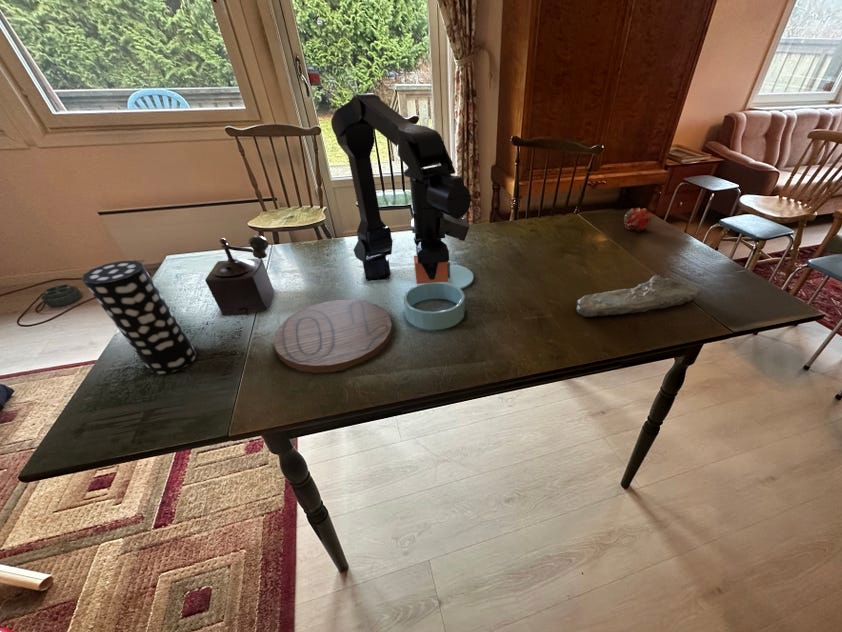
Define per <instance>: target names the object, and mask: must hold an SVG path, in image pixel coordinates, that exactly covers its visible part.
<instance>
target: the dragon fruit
mask: <svg viewBox="0 0 842 632" xmlns="http://www.w3.org/2000/svg"><path fill="white" fill-rule="evenodd" d="M651 217H652V213H651V212H650V211H648V208H646V207H644V208H642V209H641V208H640V207H637V208H631V209H629V210H628V211H627V212H626V213H625V214H624V216H623V221H622V224H623V225H624V227H625V228H626V229H628V230H629V231H633V230H635V229H638V230H635V231H636V232H640V231H644V230H646V228H647V227H648V226H649V225H650V224H651V221H652V218H651ZM630 227H631V228H634V229H631V228H630ZM640 229H641V230H640ZM639 230H640V231H639Z"/></svg>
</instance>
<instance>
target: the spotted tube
mask: <svg viewBox="0 0 842 632" xmlns="http://www.w3.org/2000/svg"><path fill="white" fill-rule="evenodd" d="M81 281H82V282H83V283H84V285H85V286H86V288H87V289H88V290H89V291H90V293H91V294H92V295H93V297H94V298H95V299H96V301H97V302H98V303H99V305H100V306H101V307H102V309H103V310H104V311H105V313H106V314H107V315H108V317H109V318H110V320H111V321H112V322H113V323H114V325H115V326H116V328H117V329H118V330H119V332H120V333H121V334H122V336H123V337H124V338H125V339H126V341H127V342H128V344H129V345H130V346H131V348H132V349H133V350H134V352H135V353H136V355H137V356H138V357H139V358H140V360H141V361H142V363H143V364H144V365H145V366H146V368H147V369H148V371H149V372H150V373H153V374H157V375H158V374H159V375H163V374H169V373H174V372H177V371H180V370H182V369H184V368H186V367H187V366H189V365H190V364H192V363H193V362H194V360H196V358H197V355H198V354H197V352H196V349H195V348H194V346H193V344H192V343H191V341H190V339H189V338H188V336H187V335H186V333H185V332H184V330H183V328H182V326H181V325H180V323H179V321H178V320H177V318H176V317H175V315H174V314H173V311H172V310H171V309H170V306H169V305H168V303H167V302H166V301H165V298H164V297H163V295H162V294H161V292H160V291H159V289H158V287H157V286H156V284H155V282H154V281H153V279H152V278H151V275H150V274H149V273H148V271H147V269H146V268H145V266H144V265H143V263H142V262H140V261H137V260H121V261H114V262H110V263H105V264H102V265H98V266H97V267H93V268H92V269H90V270H88V271H86V272H85V273H84V274H83V275H82V276H81Z"/></svg>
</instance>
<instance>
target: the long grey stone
mask: <svg viewBox="0 0 842 632" xmlns="http://www.w3.org/2000/svg"><path fill="white" fill-rule="evenodd" d="M698 295H699V288H698V287H696V285H694V284H692V283H689V282H683V281H681V280H678V279H676V278H670V277H667V278H666V277H662V276H661V275H653V276H652V277H650V279H649V280H648V281H646V282H644V283H639V284H638V285H637V286H635V287H630V288H622V289H621V288H619V289H614V290H611V291H610V290H609V291H603V292H597V293H593V294H584V295H583V296H582V297H580V298H579V299H577V301H576V304H577V305H576V312H577V313H578V314H579V315H580V316H582V317H586V318H592V317H598V316H599V317H604V316H605V317H606V316H614V315H620V316H621V315H624V314H635V313H645V312H647V311H650V310H655V309H656V310H657V309H665V308H669V307H673V306H681V305H684V304H685V303H687V302H691V301H692V300H695V299H696V298H697V296H698Z"/></svg>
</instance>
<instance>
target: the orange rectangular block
mask: <svg viewBox="0 0 842 632" xmlns="http://www.w3.org/2000/svg"><path fill="white" fill-rule="evenodd" d="M413 263H414V264H413V265H414V275H415V280H416V285H418V284H424V283H437V282H448V270H447V262H439V263H438V266H437V271H436V276H435V279H433V280H430V279H429V277H428V275H427V273H426V271H425V269H424V268H423V266H422V264H420V263H418V260H417V255H413Z"/></svg>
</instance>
